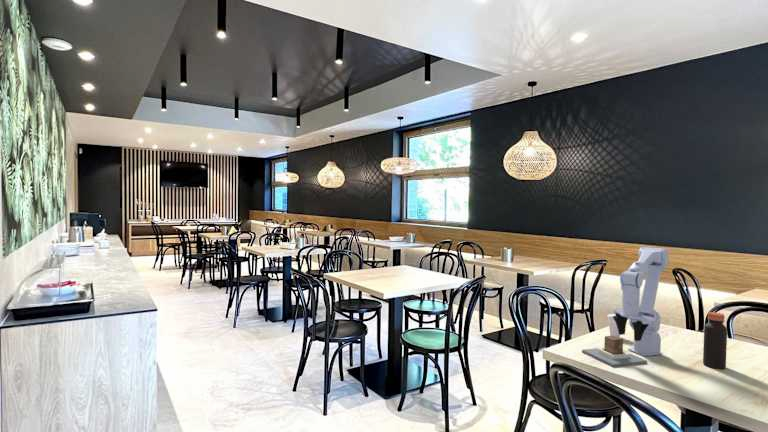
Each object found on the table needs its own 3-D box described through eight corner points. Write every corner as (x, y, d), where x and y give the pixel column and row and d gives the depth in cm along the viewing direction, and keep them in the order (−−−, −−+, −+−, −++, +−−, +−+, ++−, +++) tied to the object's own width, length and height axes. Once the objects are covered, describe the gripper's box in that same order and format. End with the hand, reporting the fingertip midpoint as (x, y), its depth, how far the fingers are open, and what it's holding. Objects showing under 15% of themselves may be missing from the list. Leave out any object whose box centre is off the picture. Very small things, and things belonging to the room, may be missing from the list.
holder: (613, 349, 174) (614, 343, 174) (647, 363, 158) (647, 356, 158) (581, 352, 170) (582, 346, 170) (612, 367, 154) (613, 360, 154)
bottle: (720, 370, 152) (722, 316, 151) (699, 364, 158) (701, 312, 158) (729, 367, 155) (731, 314, 155) (708, 361, 161) (710, 310, 161)
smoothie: (624, 339, 187) (625, 308, 187) (609, 338, 188) (610, 307, 188) (619, 334, 194) (620, 305, 193) (605, 333, 195) (605, 304, 194)
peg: (613, 352, 167) (613, 335, 167) (622, 356, 162) (623, 338, 162) (604, 353, 166) (604, 336, 165) (613, 357, 161) (613, 339, 161)
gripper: (607, 298, 166) (606, 332, 166) (637, 307, 152) (636, 344, 152) (622, 297, 167) (621, 331, 168) (653, 306, 153) (652, 342, 154)
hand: (629, 337), depth 160 cm, fingers open, 7 cm apart
